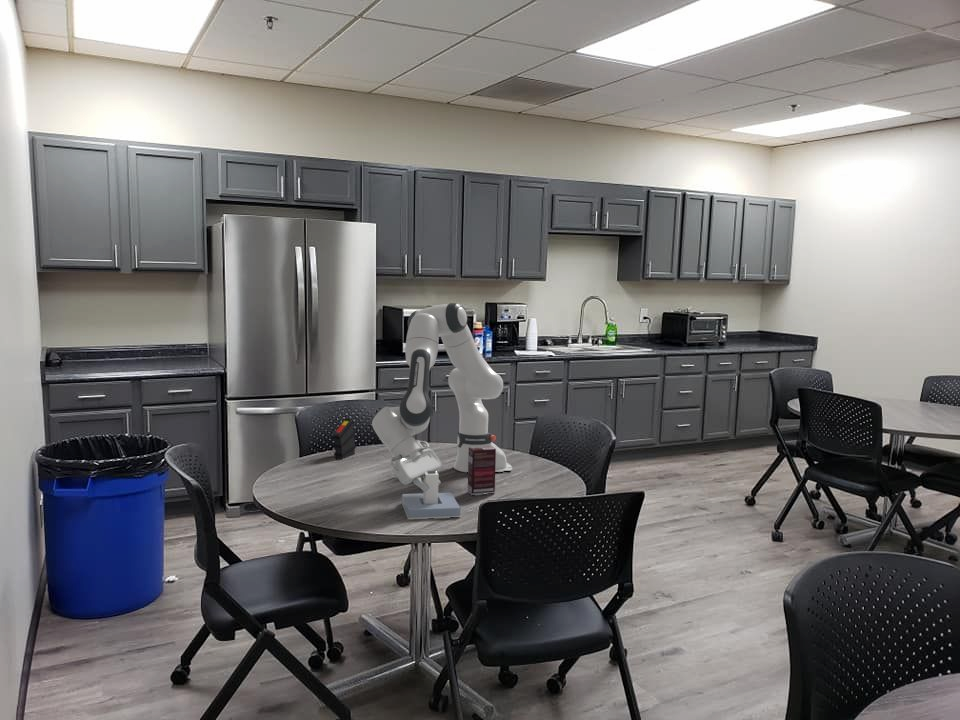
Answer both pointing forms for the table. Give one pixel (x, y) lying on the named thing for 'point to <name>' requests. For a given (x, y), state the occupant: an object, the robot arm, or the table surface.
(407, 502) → the blue-gray square socket base
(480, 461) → the supplement box
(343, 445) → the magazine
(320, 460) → the table surface
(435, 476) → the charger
